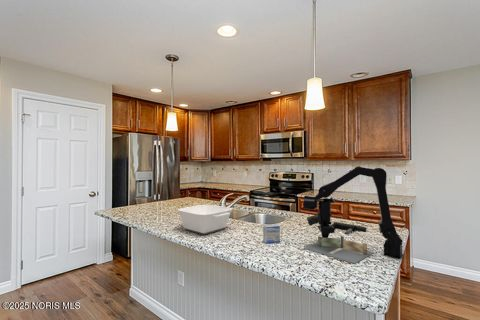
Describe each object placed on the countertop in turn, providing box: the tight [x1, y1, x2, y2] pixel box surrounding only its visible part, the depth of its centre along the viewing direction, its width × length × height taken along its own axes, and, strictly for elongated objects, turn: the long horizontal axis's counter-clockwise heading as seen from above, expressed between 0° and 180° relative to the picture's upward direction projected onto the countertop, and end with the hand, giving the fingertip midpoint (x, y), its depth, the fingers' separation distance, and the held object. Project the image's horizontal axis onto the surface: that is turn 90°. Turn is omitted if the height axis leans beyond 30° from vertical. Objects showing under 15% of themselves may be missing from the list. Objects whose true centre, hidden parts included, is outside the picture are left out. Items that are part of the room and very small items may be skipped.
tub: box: [177, 204, 233, 236], centre depth 158 cm, size 34×27×13 cm
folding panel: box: [317, 236, 341, 247], centre depth 125 cm, size 10×2×4 cm, turn 79°
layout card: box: [303, 241, 374, 265], centre depth 121 cm, size 25×19×1 cm
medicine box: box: [262, 224, 281, 245], centre depth 134 cm, size 8×4×9 cm, turn 105°
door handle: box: [331, 221, 367, 235], centre depth 157 cm, size 3×20×16 cm
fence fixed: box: [340, 235, 368, 255], centre depth 120 cm, size 12×2×6 cm, turn 41°
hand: (324, 241), depth 128 cm, fingers closed
